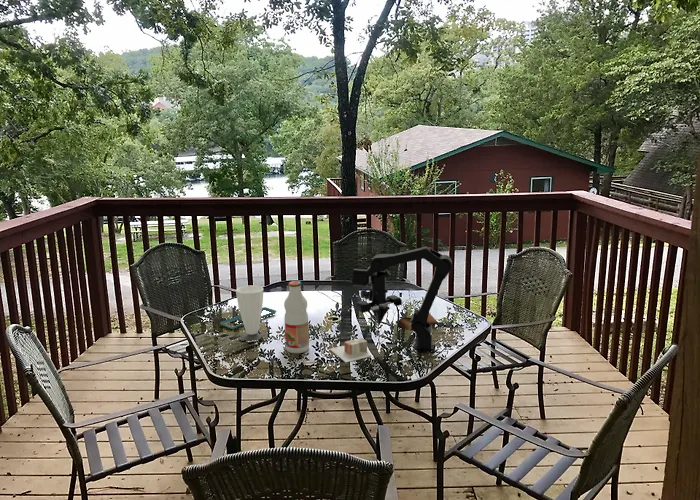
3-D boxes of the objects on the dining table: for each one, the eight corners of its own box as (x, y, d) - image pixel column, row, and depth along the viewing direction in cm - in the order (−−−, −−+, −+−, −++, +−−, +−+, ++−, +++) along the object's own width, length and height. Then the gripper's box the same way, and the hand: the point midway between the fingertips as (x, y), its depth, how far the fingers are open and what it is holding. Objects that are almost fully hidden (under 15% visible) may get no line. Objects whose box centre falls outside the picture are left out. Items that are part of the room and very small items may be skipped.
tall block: (366, 341, 206) (349, 345, 202) (367, 350, 207) (349, 354, 203) (361, 337, 209) (344, 341, 206) (362, 347, 210) (344, 351, 207)
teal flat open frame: (231, 331, 231) (231, 326, 230) (219, 326, 237) (219, 321, 236) (277, 315, 250) (277, 310, 249) (265, 311, 256) (264, 306, 255)
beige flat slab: (371, 356, 202) (371, 355, 202) (345, 362, 197) (345, 362, 197) (353, 344, 214) (353, 343, 214) (329, 349, 209) (329, 348, 209)
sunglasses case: (409, 331, 227) (404, 316, 228) (400, 334, 232) (396, 320, 234) (440, 322, 236) (435, 308, 237) (431, 326, 242) (427, 312, 243)
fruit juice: (309, 353, 206) (307, 285, 200) (285, 354, 205) (282, 286, 199) (309, 343, 215) (306, 278, 209) (286, 345, 214) (283, 279, 208)
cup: (239, 344, 216) (236, 294, 211) (238, 334, 227) (234, 286, 222) (267, 340, 219) (265, 291, 214) (264, 331, 230) (262, 284, 225)
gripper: (387, 278, 217) (387, 313, 221) (348, 285, 209) (348, 321, 212) (402, 285, 208) (402, 321, 211) (362, 292, 199) (362, 330, 203)
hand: (378, 323), depth 210 cm, fingers closed
